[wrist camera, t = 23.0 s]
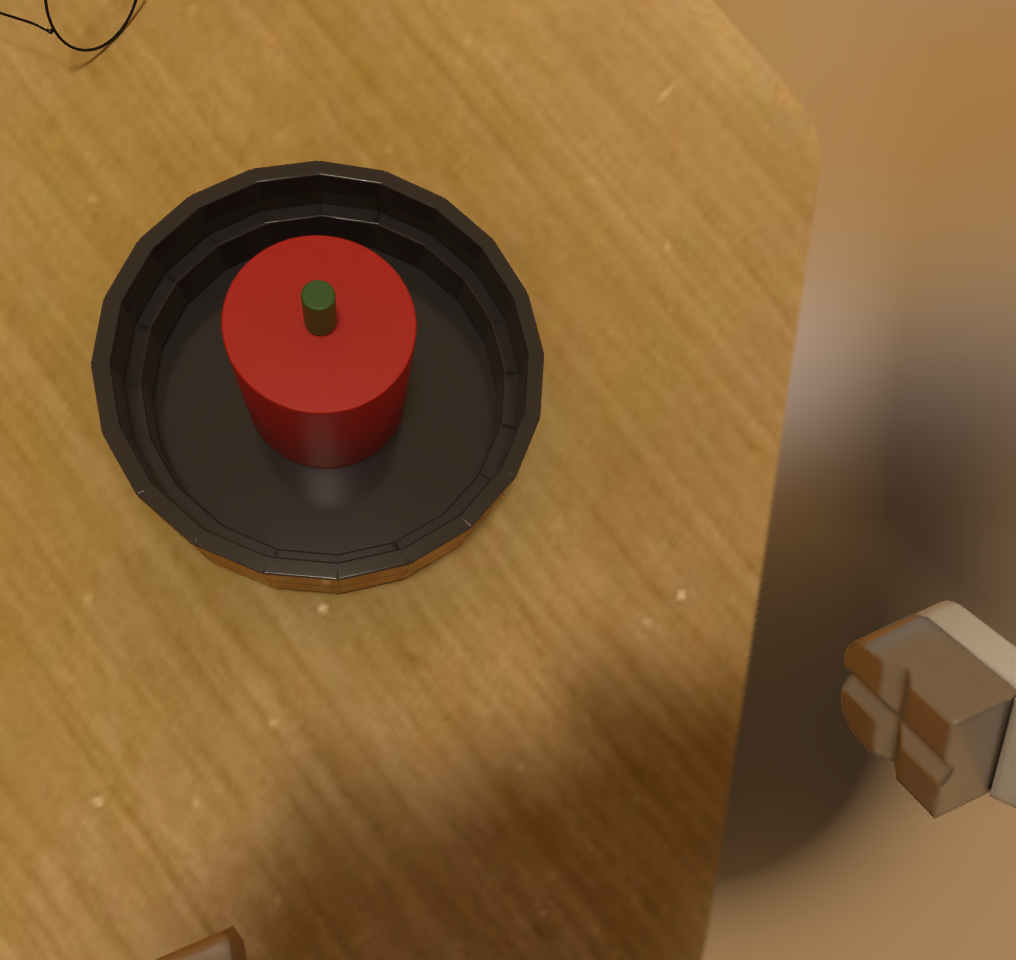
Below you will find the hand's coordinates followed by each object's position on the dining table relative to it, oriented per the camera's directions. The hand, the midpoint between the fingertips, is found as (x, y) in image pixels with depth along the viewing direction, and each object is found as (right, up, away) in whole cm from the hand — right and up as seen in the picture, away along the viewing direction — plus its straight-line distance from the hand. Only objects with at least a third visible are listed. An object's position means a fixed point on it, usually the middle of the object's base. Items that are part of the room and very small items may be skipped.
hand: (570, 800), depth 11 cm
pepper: (-8, +7, +24) cm, 26 cm away
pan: (-8, +7, +24) cm, 27 cm away
